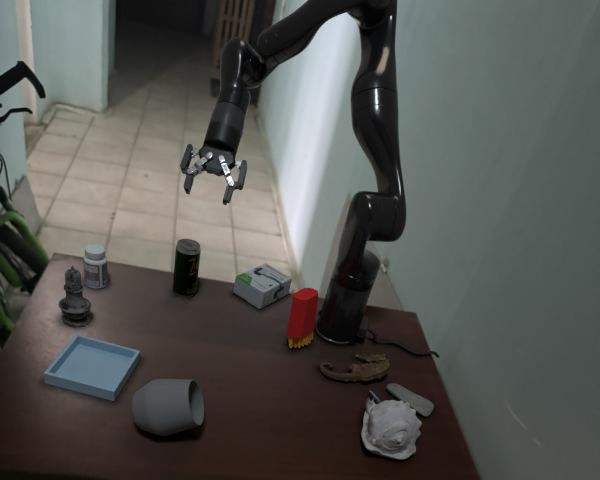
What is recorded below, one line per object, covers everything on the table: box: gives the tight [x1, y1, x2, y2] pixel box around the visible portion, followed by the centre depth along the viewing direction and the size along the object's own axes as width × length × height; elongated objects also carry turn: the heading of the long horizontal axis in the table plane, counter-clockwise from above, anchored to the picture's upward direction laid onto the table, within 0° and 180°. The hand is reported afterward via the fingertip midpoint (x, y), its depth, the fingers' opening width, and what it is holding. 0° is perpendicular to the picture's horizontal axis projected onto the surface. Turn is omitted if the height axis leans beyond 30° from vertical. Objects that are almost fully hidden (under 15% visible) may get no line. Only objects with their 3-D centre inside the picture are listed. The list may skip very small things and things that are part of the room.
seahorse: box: [319, 352, 392, 384], centre depth 111 cm, size 9×16×3 cm, turn 123°
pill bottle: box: [82, 243, 109, 290], centre depth 111 cm, size 5×5×8 cm
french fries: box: [286, 287, 319, 349], centre depth 112 cm, size 8×4×12 cm, turn 145°
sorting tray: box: [43, 333, 141, 402], centre depth 93 cm, size 12×12×2 cm
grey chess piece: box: [58, 265, 92, 328], centre depth 99 cm, size 6×6×12 cm
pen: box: [368, 389, 382, 404], centre depth 104 cm, size 1×1×14 cm
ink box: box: [232, 263, 293, 310], centre depth 125 cm, size 9×5×12 cm
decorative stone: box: [385, 382, 435, 417], centre depth 108 cm, size 11×1×5 cm
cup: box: [131, 378, 205, 437], centre depth 85 cm, size 10×9×10 cm
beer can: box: [172, 238, 202, 299], centre depth 115 cm, size 5×5×12 cm
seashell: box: [360, 397, 423, 461], centre depth 95 cm, size 12×14×10 cm
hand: (205, 198), depth 116 cm, fingers open, 8 cm apart
